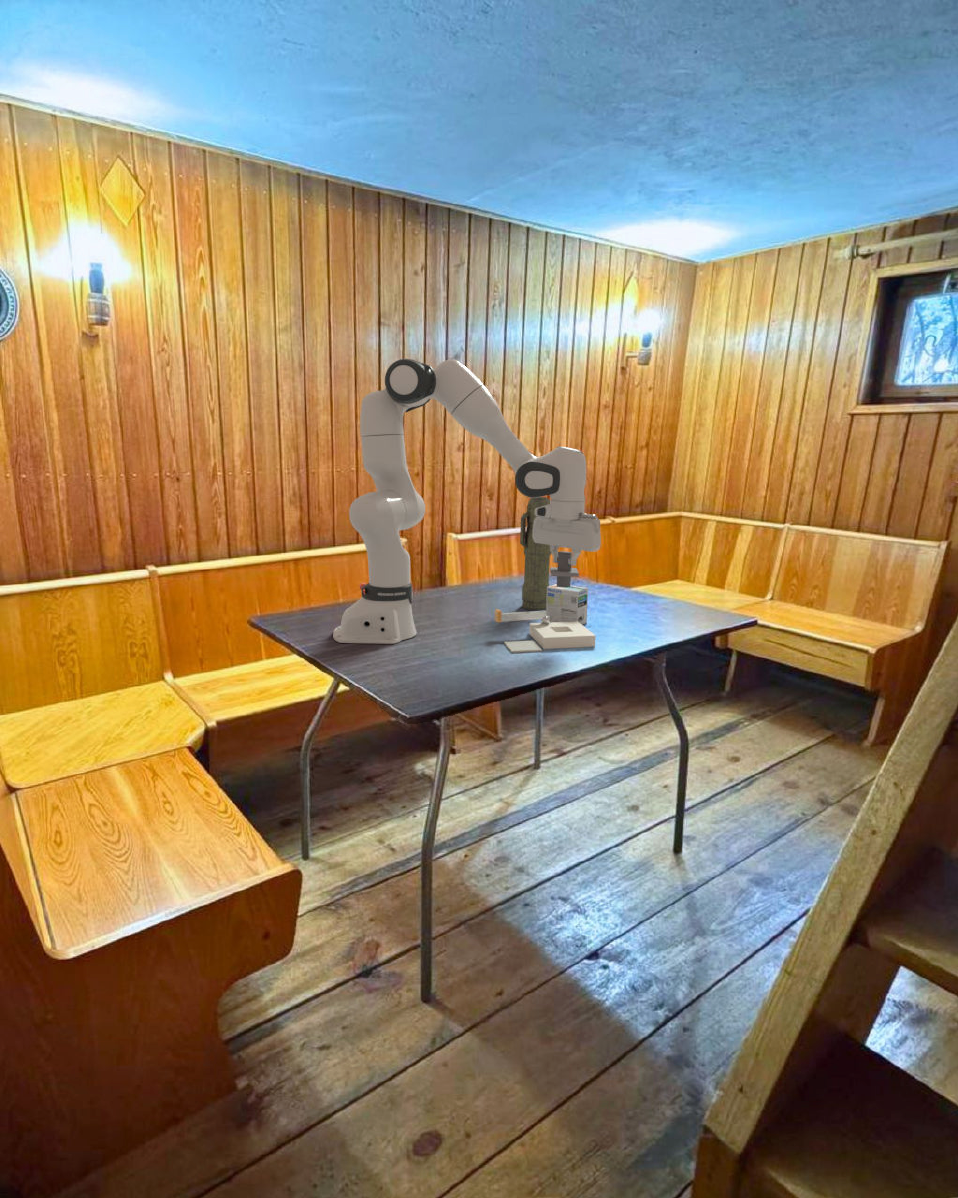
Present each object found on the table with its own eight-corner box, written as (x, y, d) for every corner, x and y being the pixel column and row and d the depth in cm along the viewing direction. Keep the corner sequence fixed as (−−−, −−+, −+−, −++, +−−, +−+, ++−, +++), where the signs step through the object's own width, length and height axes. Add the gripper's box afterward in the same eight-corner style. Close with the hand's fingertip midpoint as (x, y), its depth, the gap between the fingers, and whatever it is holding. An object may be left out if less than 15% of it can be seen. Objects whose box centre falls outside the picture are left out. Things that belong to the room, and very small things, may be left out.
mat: (511, 652, 173) (511, 651, 172) (504, 643, 180) (504, 641, 180) (542, 651, 174) (542, 649, 174) (533, 642, 182) (533, 640, 182)
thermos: (512, 606, 220) (515, 496, 212) (542, 602, 226) (546, 495, 218) (528, 612, 212) (532, 499, 204) (558, 608, 218) (563, 498, 210)
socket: (543, 648, 176) (544, 637, 176) (529, 633, 190) (529, 623, 189) (594, 646, 179) (595, 635, 178) (577, 631, 192) (577, 621, 192)
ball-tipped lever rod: (547, 621, 190) (548, 606, 189) (550, 623, 188) (551, 608, 187) (494, 624, 186) (495, 609, 185) (497, 627, 184) (497, 611, 182)
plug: (550, 588, 178) (552, 554, 175) (549, 582, 184) (550, 549, 182) (577, 589, 177) (579, 555, 175) (575, 583, 184) (577, 550, 182)
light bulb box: (587, 623, 202) (589, 587, 199) (577, 628, 196) (579, 591, 194) (555, 617, 207) (556, 582, 205) (544, 622, 202) (545, 586, 199)
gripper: (607, 514, 171) (604, 568, 174) (545, 507, 185) (543, 557, 189) (592, 516, 167) (589, 571, 170) (529, 508, 181) (527, 559, 184)
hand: (564, 564), depth 179 cm, fingers closed on plug, 4 cm apart
